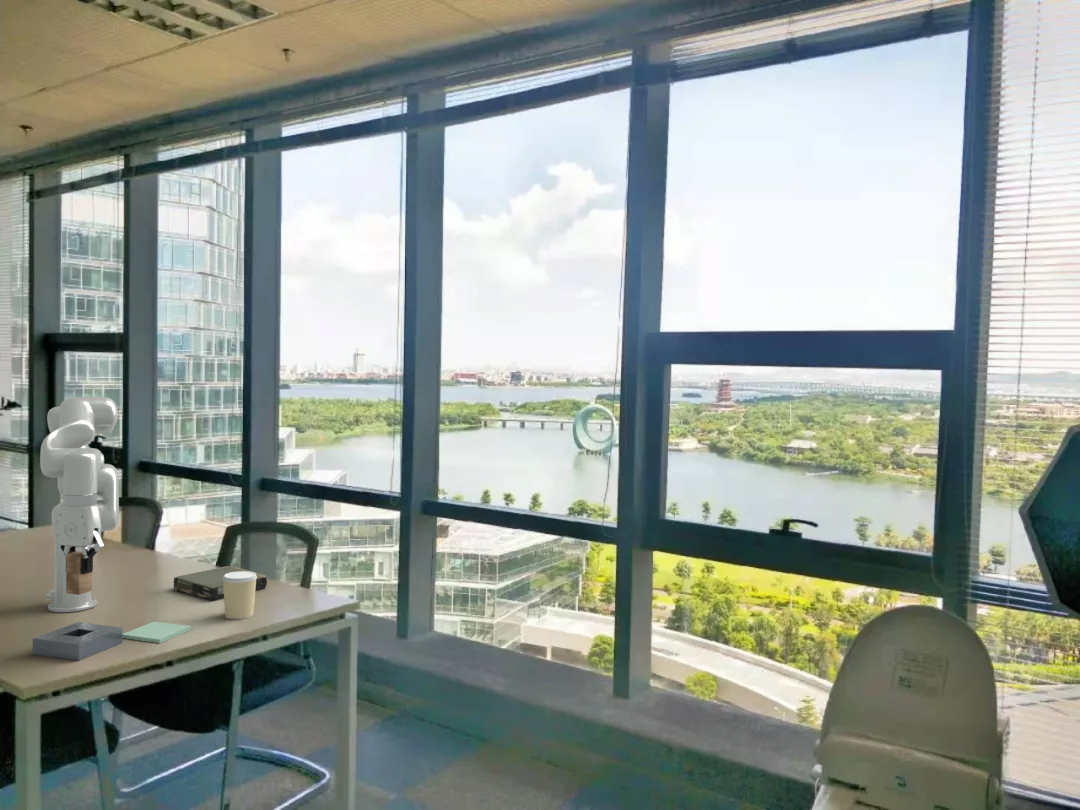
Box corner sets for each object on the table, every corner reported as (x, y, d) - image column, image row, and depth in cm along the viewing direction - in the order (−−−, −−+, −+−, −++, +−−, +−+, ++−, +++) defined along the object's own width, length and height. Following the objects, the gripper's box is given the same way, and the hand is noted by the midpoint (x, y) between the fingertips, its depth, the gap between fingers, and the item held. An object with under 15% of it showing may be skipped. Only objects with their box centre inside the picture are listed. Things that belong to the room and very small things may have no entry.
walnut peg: (66, 593, 202) (66, 554, 202) (78, 589, 206) (79, 550, 206) (79, 594, 201) (79, 555, 201) (91, 590, 205) (92, 552, 205)
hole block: (32, 654, 199) (32, 638, 199) (78, 636, 213) (78, 622, 212) (78, 660, 195) (78, 644, 195) (122, 642, 209) (122, 627, 209)
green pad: (121, 638, 213) (121, 634, 213) (154, 625, 224) (154, 621, 224) (159, 643, 210) (159, 639, 210) (190, 629, 221) (190, 626, 221)
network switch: (165, 593, 258) (165, 577, 258) (224, 578, 278) (225, 563, 278) (216, 604, 247) (216, 588, 247) (273, 588, 268) (274, 573, 268)
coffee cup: (260, 610, 240) (261, 571, 240) (250, 620, 231) (250, 579, 231) (228, 610, 240) (229, 570, 240) (217, 619, 231) (218, 578, 230)
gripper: (40, 500, 201) (40, 572, 202) (95, 505, 197) (94, 578, 198) (65, 496, 209) (64, 565, 209) (118, 500, 204) (117, 571, 205)
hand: (79, 571), depth 204 cm, fingers closed on walnut peg, 4 cm apart
